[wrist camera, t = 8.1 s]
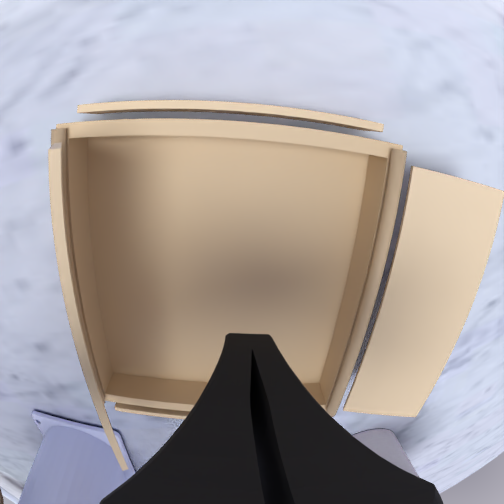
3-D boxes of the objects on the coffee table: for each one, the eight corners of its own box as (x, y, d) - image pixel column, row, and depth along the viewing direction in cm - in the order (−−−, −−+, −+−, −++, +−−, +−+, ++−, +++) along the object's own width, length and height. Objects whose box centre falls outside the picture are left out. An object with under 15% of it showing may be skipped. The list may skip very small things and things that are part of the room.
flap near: (103, 402, 14) (128, 469, 10) (98, 403, 14) (122, 470, 10) (62, 142, 9) (60, 148, 6) (54, 143, 9) (48, 149, 6)
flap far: (343, 406, 15) (415, 413, 14) (343, 410, 15) (415, 417, 14) (411, 165, 11) (501, 190, 10) (413, 166, 10) (504, 191, 10)
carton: (324, 391, 18) (334, 425, 16) (109, 380, 17) (97, 413, 14) (382, 128, 12) (414, 130, 10) (81, 109, 11) (49, 107, 9)
